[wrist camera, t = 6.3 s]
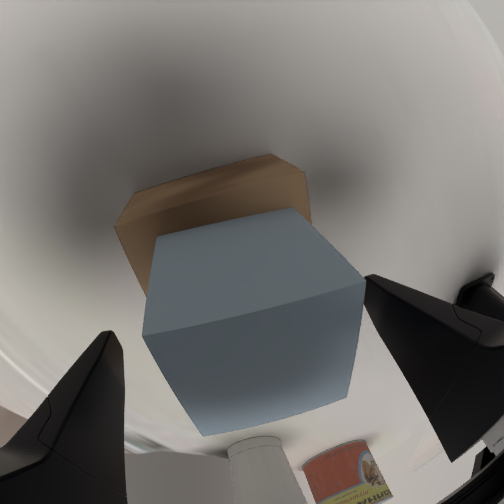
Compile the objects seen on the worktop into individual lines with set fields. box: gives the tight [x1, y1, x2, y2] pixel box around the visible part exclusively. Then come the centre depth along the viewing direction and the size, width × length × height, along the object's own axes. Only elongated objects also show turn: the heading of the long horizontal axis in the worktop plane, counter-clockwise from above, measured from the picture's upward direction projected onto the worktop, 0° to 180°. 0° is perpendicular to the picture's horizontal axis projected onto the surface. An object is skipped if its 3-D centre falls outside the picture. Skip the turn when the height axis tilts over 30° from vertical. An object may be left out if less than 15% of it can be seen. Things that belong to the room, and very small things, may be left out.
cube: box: [142, 207, 366, 436], centre depth 9 cm, size 5×5×5 cm
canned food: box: [302, 440, 393, 504], centre depth 32 cm, size 11×11×12 cm
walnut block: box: [114, 154, 312, 297], centre depth 13 cm, size 7×7×4 cm
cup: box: [227, 436, 308, 504], centre depth 23 cm, size 8×8×12 cm
